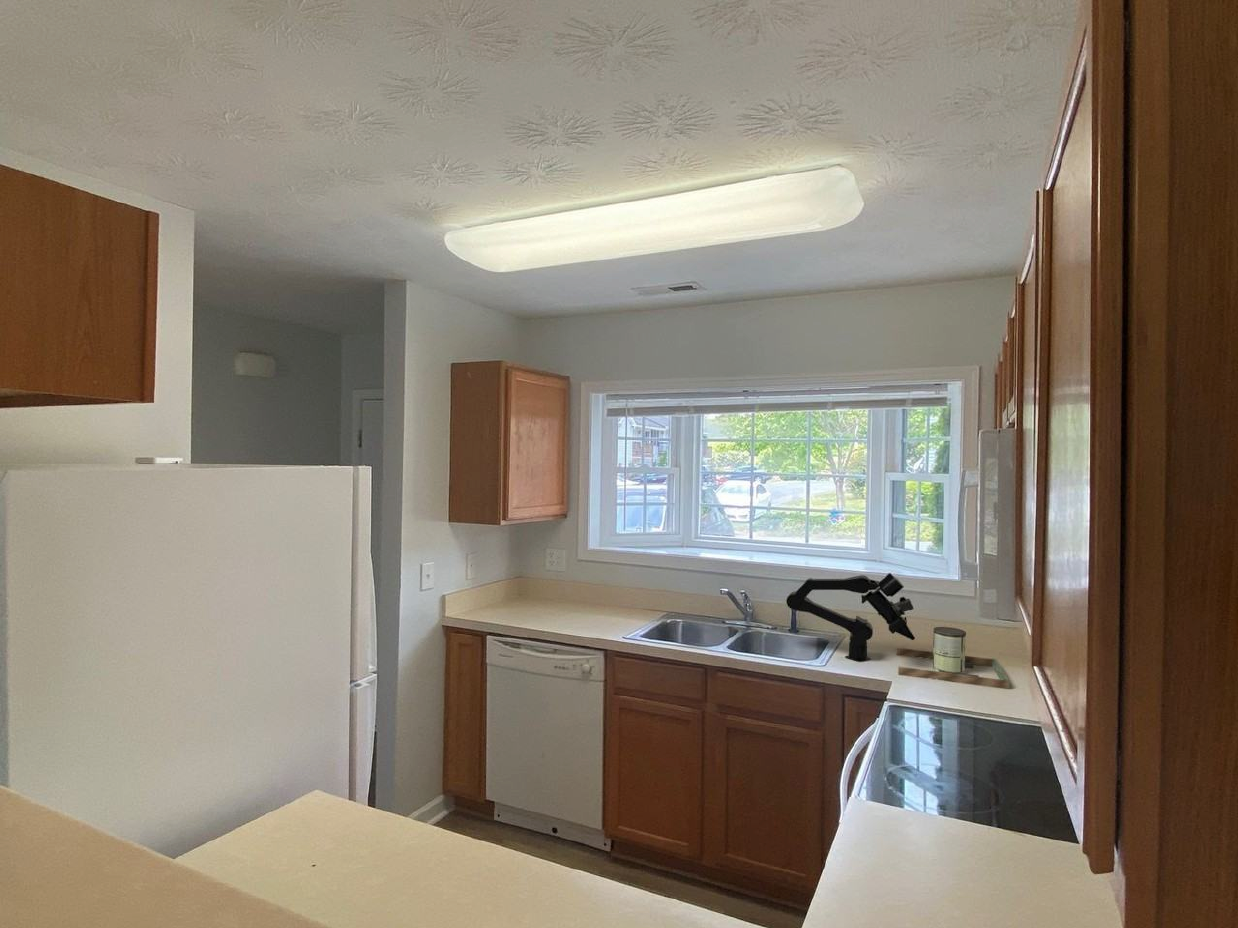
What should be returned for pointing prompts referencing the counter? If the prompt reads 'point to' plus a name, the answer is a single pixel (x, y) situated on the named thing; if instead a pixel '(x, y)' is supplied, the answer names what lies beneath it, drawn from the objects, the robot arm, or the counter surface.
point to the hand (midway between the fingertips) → (914, 639)
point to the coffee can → (949, 649)
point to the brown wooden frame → (955, 676)
